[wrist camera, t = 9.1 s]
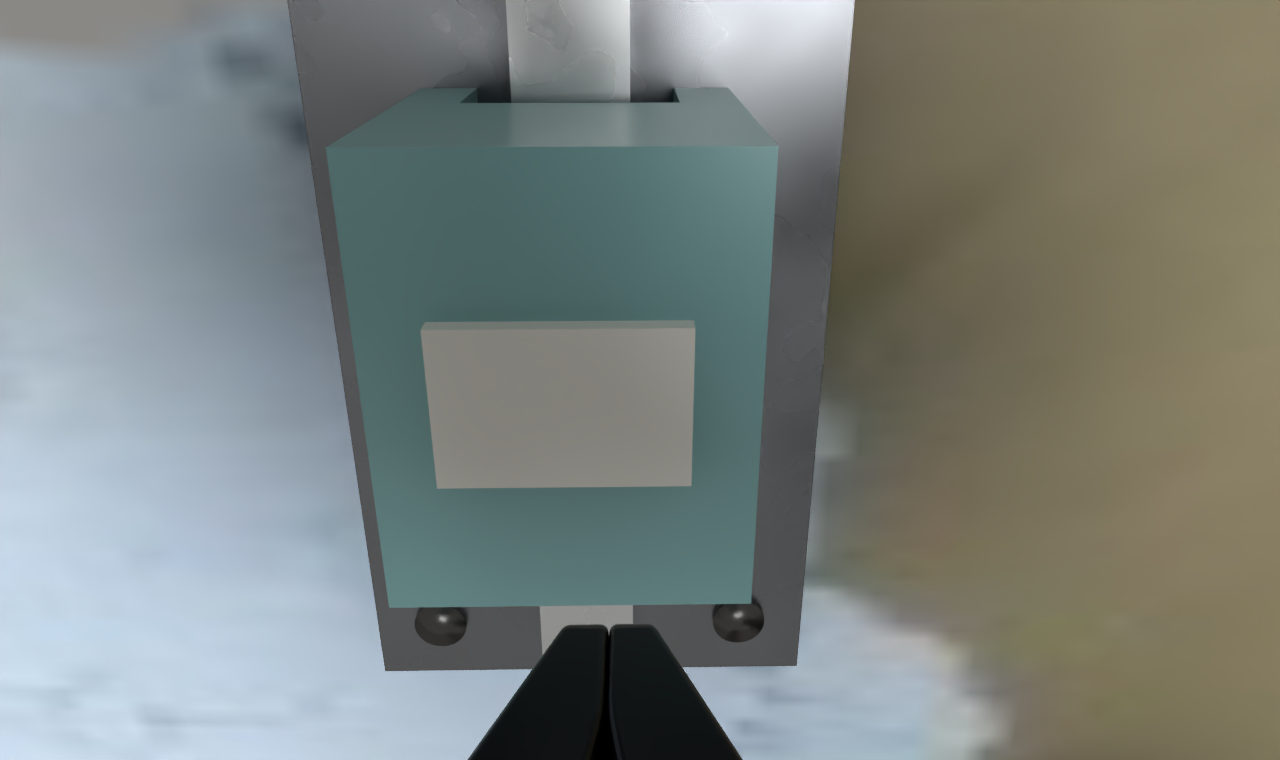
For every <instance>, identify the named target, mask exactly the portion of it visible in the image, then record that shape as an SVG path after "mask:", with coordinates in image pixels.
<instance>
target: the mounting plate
mask: <svg viewBox="0 0 1280 760" xmlns="http://www.w3.org/2000/svg"><path fill="white" fill-rule="evenodd" d="M287 1H288V8H289V14H290V21H291V28H292V35H293V42H294V49H295V56H296V62H297V69H298V76H299V83H300V90H301V97H302V103H303V110H304V117H305V124H306V131H307V138H308V145H309V151H310V158H311V165H312V172H313V179H314V186H315V193H316V199H317V206H318V213H319V220H320V227H321V234H322V240H323V247H324V254H325V261H326V268H327V275H328V282H329V288H330V295H331V302H332V309H333V316H334V323H335V330H336V336H337V343H338V350H339V357H340V364H341V371H342V377H343V384H344V391H345V398H346V405H347V412H348V419H349V425H350V432H351V439H352V446H353V453H354V460H355V467H356V473H357V480H358V487H359V494H360V501H361V508H362V514H363V521H364V528H365V535H366V542H367V549H368V556H369V562H370V569H371V576H372V583H373V590H374V597H375V604H376V610H377V617H378V624H379V631H380V638H381V645H382V652H383V658H384V665H385V671H418V670H496V669H533V668H534V667H535V665H536V664H537V662H538V661H539V660H540V658H541V657H542V655H543V654H544V653H545V651H546V650H547V649H548V647H549V646H550V644H551V643H552V642H553V640H554V639H555V637H556V636H557V635H558V633H559V632H560V631H561V629H562V628H563V627H565V626H567V625H583V624H602V625H604V626H606V627H607V629H608V632H609V631H610V629H611V627H612V626H613V625H615V624H651V625H653V626H655V628H656V629H657V630H658V631H659V633H660V634H661V636H662V637H663V639H664V641H665V642H666V644H667V645H668V647H669V648H670V650H671V651H672V653H673V654H674V656H675V657H676V659H677V660H678V662H679V663H680V665H681V666H682V667H729V666H797V654H798V643H799V631H800V620H801V608H802V597H803V586H804V574H805V563H806V551H807V540H808V528H809V517H810V505H811V494H812V483H813V471H814V460H815V448H816V437H817V425H818V414H819V402H820V391H821V380H822V368H823V357H824V345H825V334H826V322H827V311H828V299H829V288H830V277H831V265H832V254H833V242H834V231H835V219H836V208H837V196H838V185H839V174H840V162H841V151H842V139H843V128H844V116H845V105H846V93H847V82H848V71H849V59H850V48H851V36H852V25H853V13H854V2H855V0H287ZM422 88H477V97H478V103H673V102H674V88H729V89H730V90H731V91H732V93H733V94H734V95H735V96H736V97H737V98H738V100H739V101H740V102H741V103H742V104H743V105H744V107H745V108H746V109H747V110H748V111H749V112H750V113H751V115H752V116H753V117H754V118H755V119H756V120H757V122H758V123H759V124H760V125H761V126H762V127H763V129H764V130H765V131H766V132H767V133H768V134H769V135H770V137H771V138H772V139H773V140H774V141H775V142H776V144H777V145H778V146H779V148H778V164H777V181H776V198H775V214H774V231H773V247H772V264H771V281H770V297H769V314H768V330H767V347H766V363H765V380H764V397H763V413H762V430H761V446H760V463H759V480H758V496H757V513H756V529H755V546H754V563H753V579H752V596H751V604H682V605H593V606H505V607H417V608H389V603H388V596H387V589H386V581H385V574H384V567H383V560H382V552H381V545H380V538H379V531H378V523H377V516H376V509H375V502H374V494H373V487H372V480H371V473H370V465H369V458H368V451H367V444H366V436H365V429H364V422H363V415H362V407H361V400H360V393H359V386H358V378H357V371H356V364H355V357H354V350H353V342H352V335H351V328H350V321H349V313H348V306H347V299H346V292H345V284H344V277H343V270H342V263H341V255H340V248H339V241H338V234H337V226H336V219H335V212H334V205H333V197H332V190H331V183H330V176H329V168H328V161H327V154H326V147H327V146H329V145H331V144H332V143H334V142H336V141H337V140H339V139H340V138H342V137H344V136H345V135H347V134H349V133H350V132H352V131H353V130H355V129H357V128H358V127H360V126H362V125H363V124H365V123H366V122H368V121H370V120H371V119H373V118H375V117H376V116H378V115H379V114H381V113H383V112H384V111H386V110H388V109H389V108H391V107H392V106H394V105H396V104H397V103H399V102H401V101H402V100H404V99H405V98H407V97H409V96H410V95H412V94H414V93H415V92H417V91H418V90H420V89H422Z"/></svg>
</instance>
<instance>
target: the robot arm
mask: <svg viewBox="0 0 1280 760" xmlns="http://www.w3.org/2000/svg"><path fill="white" fill-rule="evenodd" d="M468 760H743V759H742V758H741V756H740V755H739V753H738V752H737V750H736V749H735V747H734V746H733V744H732V743H731V741H730V740H729V738H728V737H727V735H726V733H725V732H724V730H723V729H722V727H721V726H720V724H719V723H718V721H717V720H716V718H715V717H714V715H713V714H712V712H711V711H710V709H709V708H708V706H707V705H706V703H705V701H704V700H703V698H702V697H701V695H700V694H699V692H698V691H697V689H696V688H695V686H694V685H693V683H692V682H691V680H690V679H689V677H688V676H687V674H686V673H685V671H684V669H683V668H682V666H681V665H680V663H679V662H678V660H677V659H676V657H675V656H674V654H673V653H672V651H671V650H670V648H669V647H668V645H667V644H666V642H665V641H664V639H663V637H662V636H661V634H660V633H659V631H658V630H657V629H656V628H655V626H653V625H651V624H615V625H613V626H612V627H611V629H610V631H609V632H608V629H607V627H606V626H604V625H602V624H583V625H567V626H565V627H563V628H562V629H561V631H560V632H559V633H558V635H557V636H556V637H555V639H554V640H553V642H552V643H551V644H550V646H549V647H548V649H547V650H546V651H545V653H544V654H543V655H542V657H541V658H540V660H539V661H538V662H537V664H536V665H535V667H534V668H533V669H532V671H531V672H530V674H529V675H528V676H527V678H526V679H525V681H524V682H523V683H522V685H521V686H520V687H519V689H518V690H517V692H516V693H515V694H514V696H513V697H512V699H511V700H510V701H509V703H508V704H507V706H506V707H505V708H504V710H503V711H502V713H501V714H500V715H499V717H498V718H497V720H496V721H495V722H494V724H493V725H492V726H491V728H490V729H489V731H488V732H487V733H486V735H485V736H484V738H483V739H482V740H481V742H480V743H479V745H478V746H477V747H476V749H475V750H474V752H473V753H472V754H471V756H470V757H469V758H468Z"/></svg>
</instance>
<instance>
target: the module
mask: <svg viewBox="0 0 1280 760" xmlns="http://www.w3.org/2000/svg"><path fill="white" fill-rule="evenodd" d="M778 148H779V146H778V145H777V144H776V142H775V141H774V140H773V139H772V138H771V137H770V135H769V134H768V133H767V132H766V131H765V130H764V129H763V127H762V126H761V125H760V124H759V123H758V122H757V120H756V119H755V118H754V117H753V116H752V115H751V113H750V112H749V111H748V110H747V109H746V108H745V107H744V105H743V104H742V103H741V102H740V101H739V100H738V98H737V97H736V96H735V95H734V94H733V93H732V91H731V90H730V89H729V88H674V102H673V103H478V97H477V88H422V89H420V90H418V91H417V92H415V93H414V94H412V95H410V96H409V97H407V98H405V99H404V100H402V101H401V102H399V103H397V104H396V105H394V106H392V107H391V108H389V109H388V110H386V111H384V112H383V113H381V114H379V115H378V116H376V117H375V118H373V119H371V120H370V121H368V122H366V123H365V124H363V125H362V126H360V127H358V128H357V129H355V130H353V131H352V132H350V133H349V134H347V135H345V136H344V137H342V138H340V139H339V140H337V141H336V142H334V143H332V144H331V145H329V146H327V147H326V154H327V161H328V168H329V176H330V183H331V190H332V197H333V205H334V212H335V219H336V226H337V234H338V241H339V248H340V255H341V263H342V270H343V277H344V284H345V292H346V299H347V306H348V313H349V321H350V328H351V335H352V342H353V350H354V357H355V364H356V371H357V378H358V386H359V393H360V400H361V407H362V415H363V422H364V429H365V436H366V444H367V451H368V458H369V465H370V473H371V480H372V487H373V494H374V502H375V509H376V516H377V523H378V531H379V538H380V545H381V552H382V560H383V567H384V574H385V581H386V589H387V596H388V603H389V608H417V607H505V606H593V605H682V604H751V596H752V579H753V563H754V546H755V529H756V513H757V496H758V480H759V463H760V446H761V430H762V413H763V397H764V380H765V363H766V347H767V330H768V314H769V297H770V281H771V264H772V247H773V231H774V214H775V198H776V181H777V164H778Z"/></svg>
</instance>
